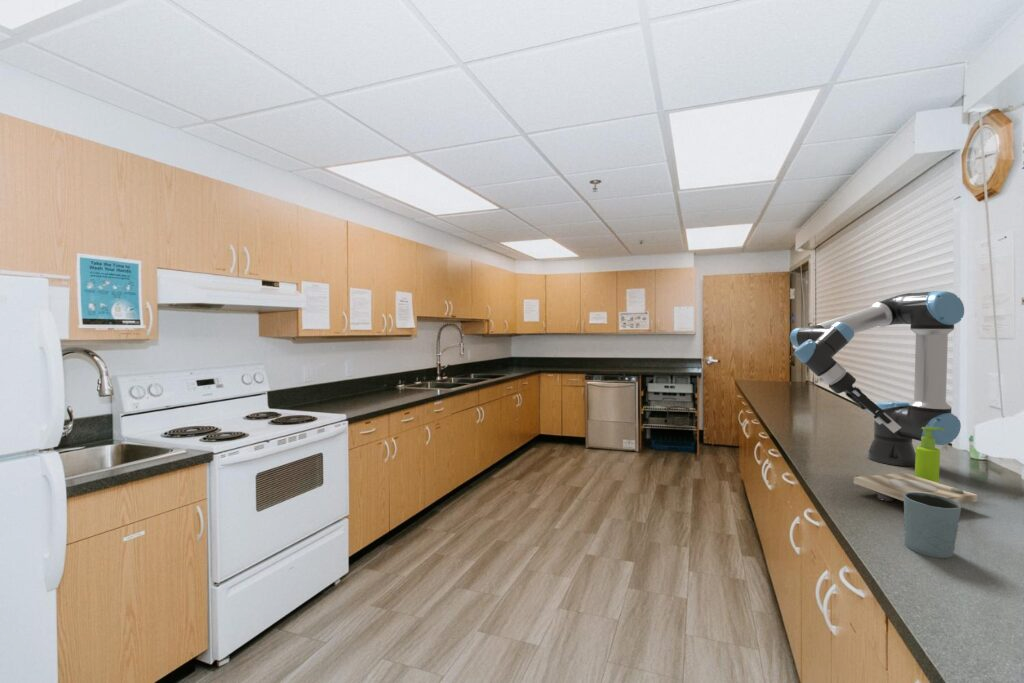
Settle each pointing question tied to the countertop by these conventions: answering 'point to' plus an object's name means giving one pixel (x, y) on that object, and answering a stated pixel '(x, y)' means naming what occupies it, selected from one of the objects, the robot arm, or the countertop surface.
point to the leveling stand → (911, 487)
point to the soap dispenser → (928, 457)
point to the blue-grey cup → (930, 524)
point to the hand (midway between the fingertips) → (890, 426)
